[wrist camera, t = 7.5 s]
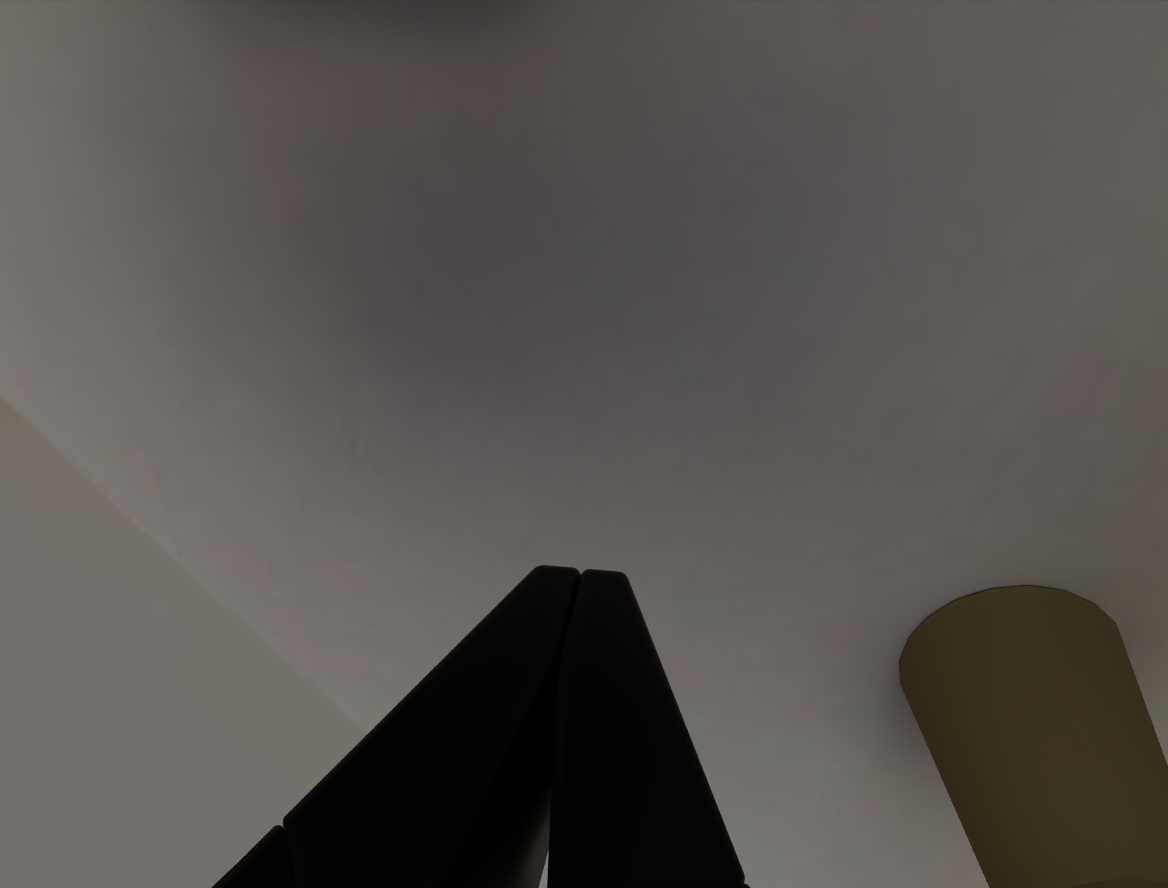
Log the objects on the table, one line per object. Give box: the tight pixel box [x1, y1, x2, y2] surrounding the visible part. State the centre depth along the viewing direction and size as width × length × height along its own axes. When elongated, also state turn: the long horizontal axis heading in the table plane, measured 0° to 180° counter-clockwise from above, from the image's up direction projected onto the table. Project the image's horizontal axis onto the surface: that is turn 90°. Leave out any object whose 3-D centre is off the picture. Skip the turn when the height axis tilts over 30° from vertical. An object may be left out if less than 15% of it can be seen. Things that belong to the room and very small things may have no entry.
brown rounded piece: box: [899, 586, 1168, 888], centre depth 20 cm, size 6×6×11 cm
